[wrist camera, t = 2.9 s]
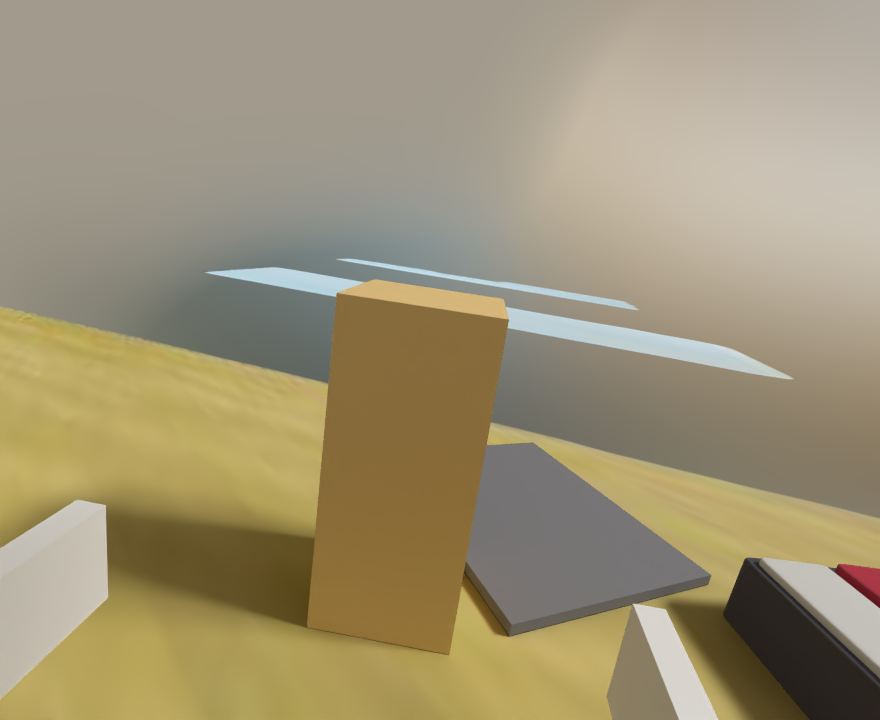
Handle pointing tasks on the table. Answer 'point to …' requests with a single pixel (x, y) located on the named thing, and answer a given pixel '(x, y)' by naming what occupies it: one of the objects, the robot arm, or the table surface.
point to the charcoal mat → (561, 545)
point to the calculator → (813, 632)
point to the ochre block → (402, 459)
